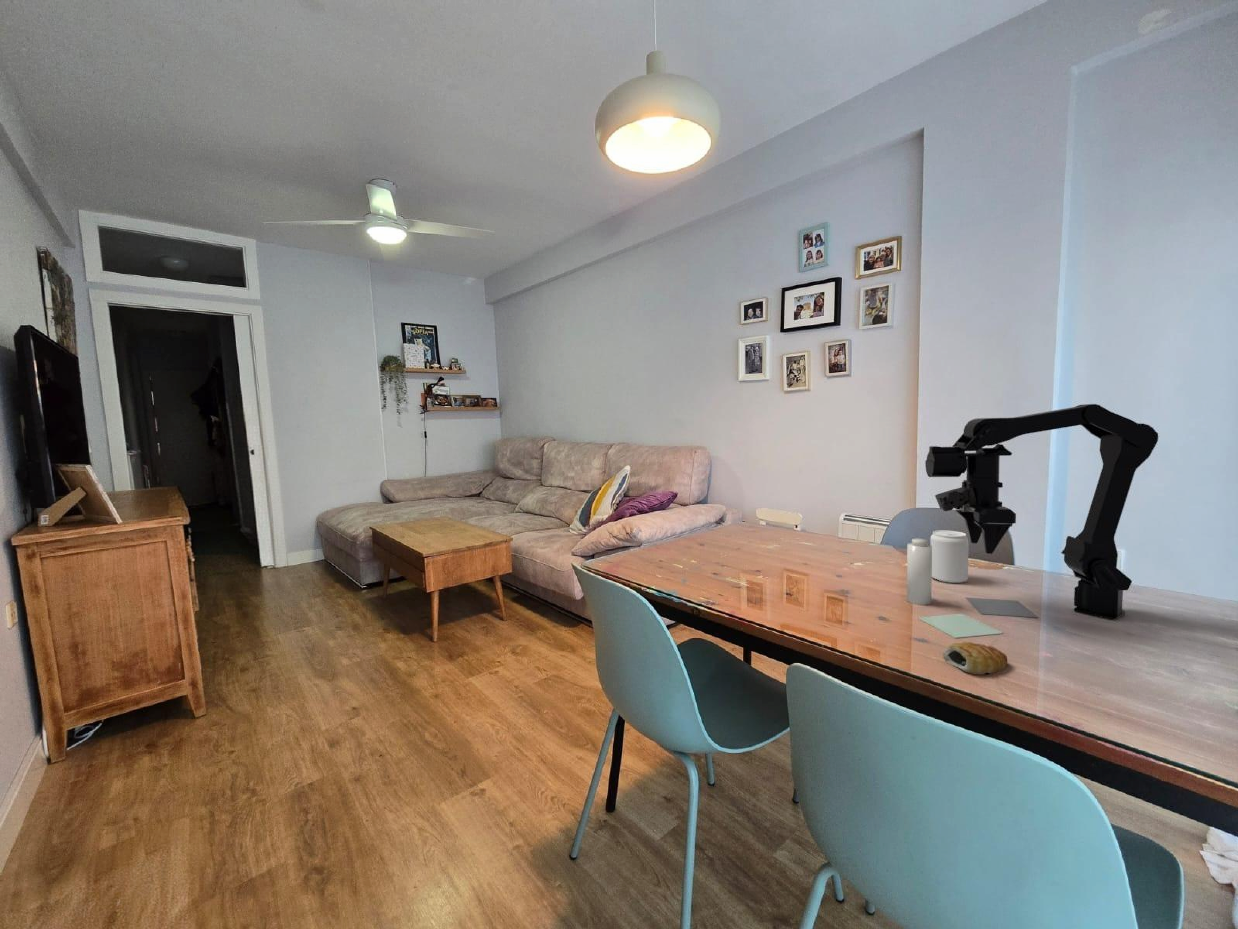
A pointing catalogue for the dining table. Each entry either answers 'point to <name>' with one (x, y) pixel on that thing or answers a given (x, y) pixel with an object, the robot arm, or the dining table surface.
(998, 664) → the pastry
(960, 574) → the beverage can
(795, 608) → the dining table surface
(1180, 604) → the dining table surface
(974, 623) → the green tile
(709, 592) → the dining table surface
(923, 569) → the white bottle
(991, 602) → the felt pad
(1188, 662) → the dining table surface
